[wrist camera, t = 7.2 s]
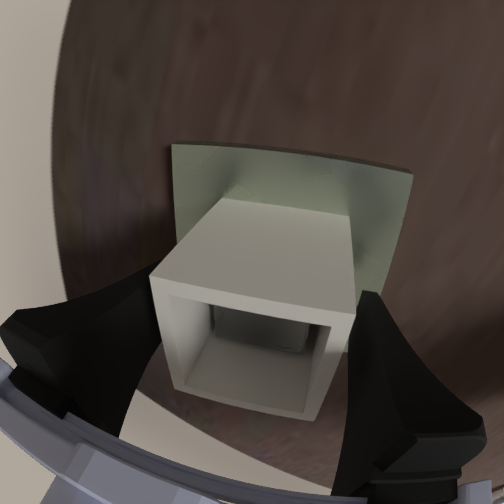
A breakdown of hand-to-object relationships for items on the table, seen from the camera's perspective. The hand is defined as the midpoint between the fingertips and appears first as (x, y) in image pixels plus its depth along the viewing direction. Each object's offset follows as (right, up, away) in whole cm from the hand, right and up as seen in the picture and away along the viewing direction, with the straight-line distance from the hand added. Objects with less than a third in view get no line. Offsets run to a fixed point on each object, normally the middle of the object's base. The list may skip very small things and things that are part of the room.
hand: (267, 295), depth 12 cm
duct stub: (+1, +2, +3) cm, 3 cm away
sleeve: (+1, +1, +2) cm, 2 cm away
